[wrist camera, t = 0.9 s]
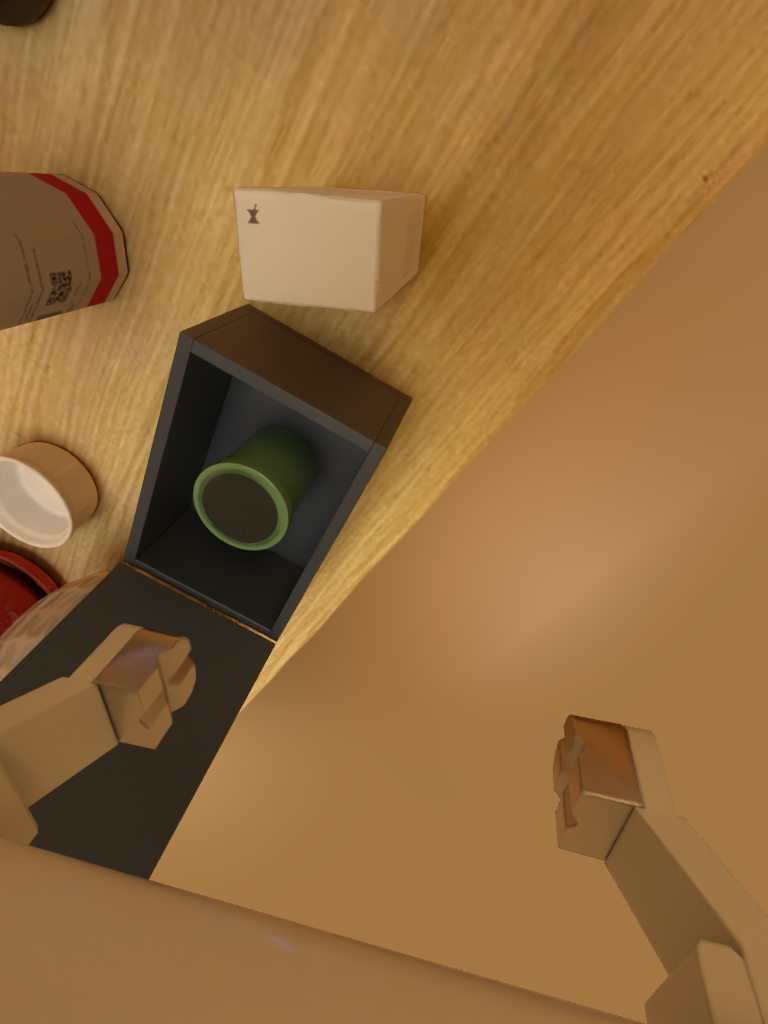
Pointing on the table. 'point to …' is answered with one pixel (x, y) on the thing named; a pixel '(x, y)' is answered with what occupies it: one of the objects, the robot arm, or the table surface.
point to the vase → (50, 618)
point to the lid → (130, 768)
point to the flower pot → (20, 587)
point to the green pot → (257, 488)
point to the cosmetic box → (327, 245)
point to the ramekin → (44, 494)
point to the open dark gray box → (227, 423)
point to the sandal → (21, 11)
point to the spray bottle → (55, 248)
